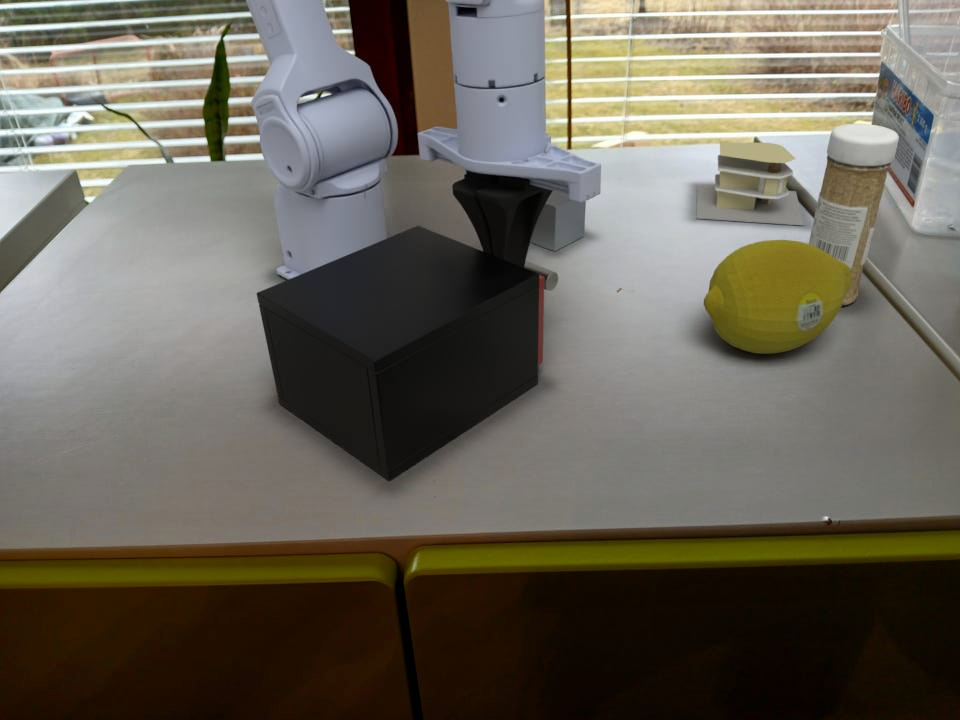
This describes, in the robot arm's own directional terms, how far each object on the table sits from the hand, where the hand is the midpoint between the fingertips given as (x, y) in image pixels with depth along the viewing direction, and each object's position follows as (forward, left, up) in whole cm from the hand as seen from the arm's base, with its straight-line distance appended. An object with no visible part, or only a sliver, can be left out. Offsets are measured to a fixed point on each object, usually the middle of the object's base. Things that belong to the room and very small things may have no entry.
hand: (507, 274), depth 57 cm
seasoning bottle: (+14, +23, -6) cm, 27 cm away
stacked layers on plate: (0, +36, -6) cm, 36 cm away
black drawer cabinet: (-1, -9, -6) cm, 11 cm away
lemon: (+14, +13, -6) cm, 20 cm away
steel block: (-10, +17, -6) cm, 20 cm away
